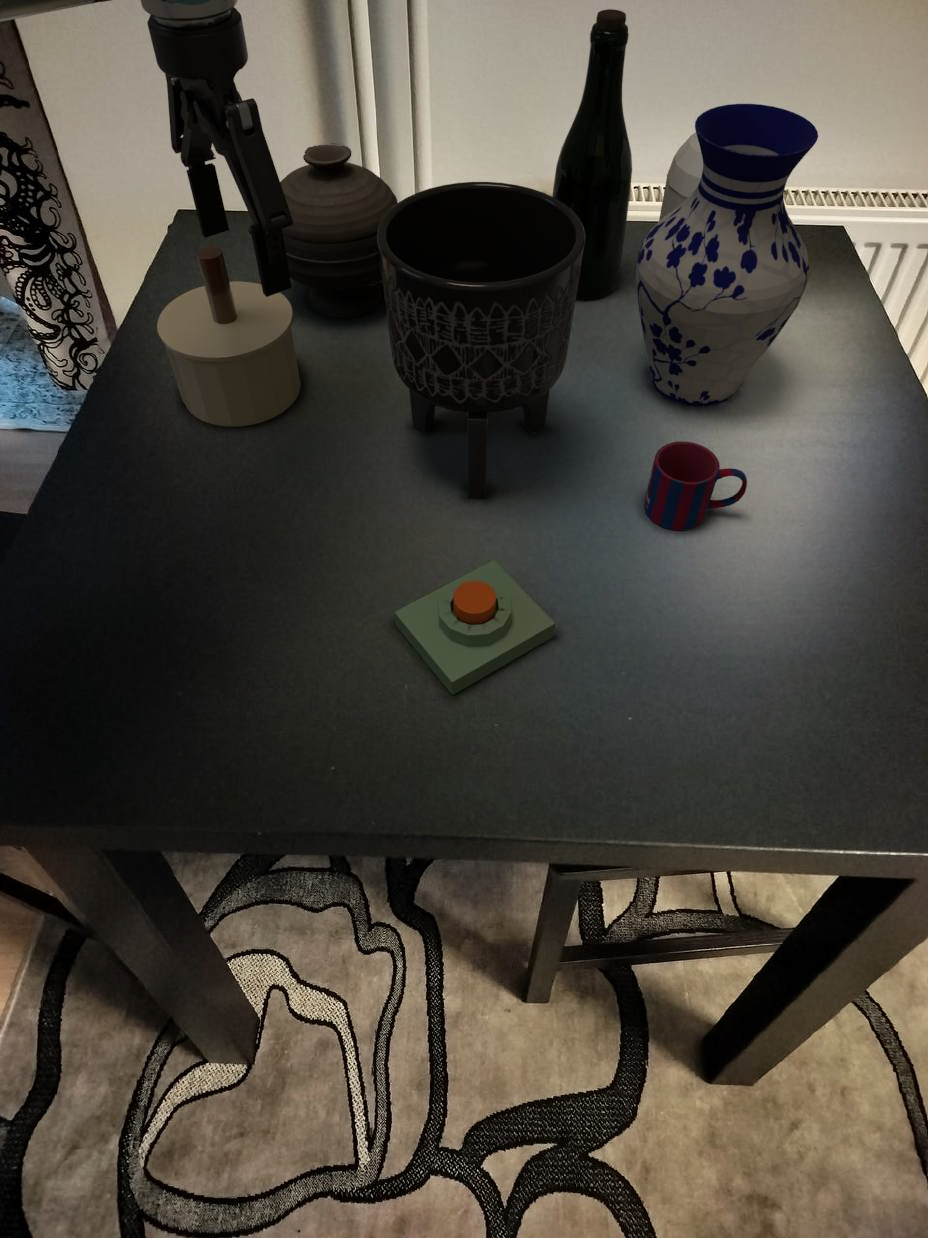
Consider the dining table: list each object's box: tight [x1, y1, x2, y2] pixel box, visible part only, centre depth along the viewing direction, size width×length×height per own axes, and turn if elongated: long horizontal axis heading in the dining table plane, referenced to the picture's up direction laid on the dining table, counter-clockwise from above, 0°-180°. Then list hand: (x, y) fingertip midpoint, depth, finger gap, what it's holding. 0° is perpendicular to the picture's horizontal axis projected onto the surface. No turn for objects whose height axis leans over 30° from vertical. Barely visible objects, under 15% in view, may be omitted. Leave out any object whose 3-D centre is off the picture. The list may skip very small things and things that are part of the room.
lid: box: [156, 245, 294, 362], centre depth 97 cm, size 16×16×9 cm
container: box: [658, 132, 703, 222], centre depth 117 cm, size 14×13×20 cm
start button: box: [453, 581, 496, 625], centre depth 81 cm, size 4×4×2 cm
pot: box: [280, 142, 399, 318], centre depth 113 cm, size 18×18×20 cm
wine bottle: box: [551, 8, 633, 300], centre depth 110 cm, size 10×10×33 cm
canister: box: [164, 327, 302, 428], centre depth 104 cm, size 15×15×10 cm
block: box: [394, 559, 556, 696], centre depth 83 cm, size 12×10×4 cm
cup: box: [643, 441, 748, 531], centre depth 92 cm, size 7×10×7 cm
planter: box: [377, 181, 586, 500], centre depth 91 cm, size 20×20×26 cm
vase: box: [635, 103, 819, 408], centre depth 97 cm, size 19×19×30 cm
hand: (245, 260), depth 86 cm, fingers open, 13 cm apart
